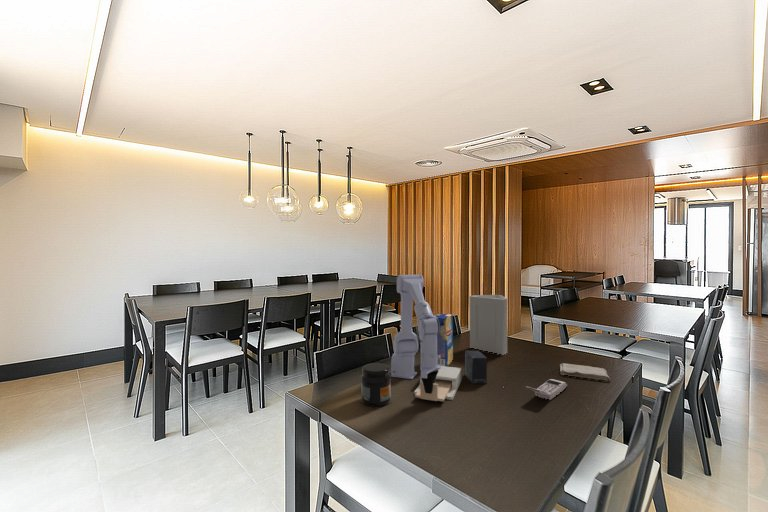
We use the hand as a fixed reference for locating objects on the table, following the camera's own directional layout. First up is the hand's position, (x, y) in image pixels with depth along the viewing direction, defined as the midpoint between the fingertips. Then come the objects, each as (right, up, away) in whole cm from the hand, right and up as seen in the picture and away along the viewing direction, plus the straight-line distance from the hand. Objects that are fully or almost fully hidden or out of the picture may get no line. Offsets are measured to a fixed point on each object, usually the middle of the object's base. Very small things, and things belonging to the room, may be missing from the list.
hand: (429, 392), depth 123 cm
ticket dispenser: (+6, -4, +15) cm, 16 cm away
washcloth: (+69, -4, +28) cm, 74 cm away
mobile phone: (+44, -4, +7) cm, 45 cm away
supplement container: (-18, -4, +2) cm, 19 cm away
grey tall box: (+42, -3, +67) cm, 79 cm away
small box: (+22, -4, +23) cm, 32 cm away
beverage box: (+12, -3, +44) cm, 46 cm away
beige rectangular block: (+3, -2, +7) cm, 8 cm away
